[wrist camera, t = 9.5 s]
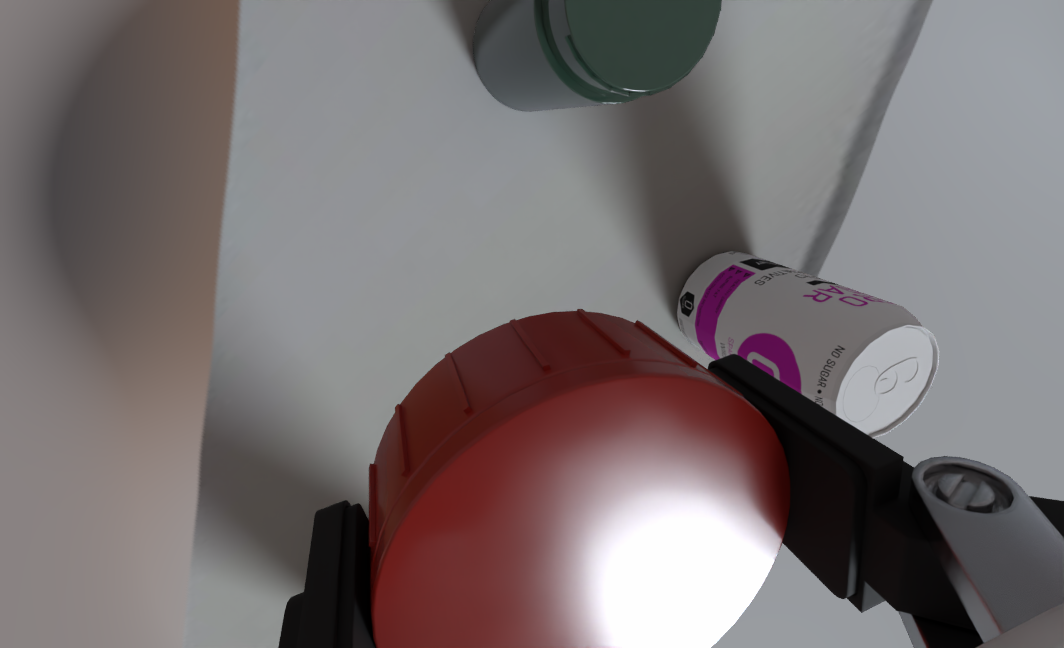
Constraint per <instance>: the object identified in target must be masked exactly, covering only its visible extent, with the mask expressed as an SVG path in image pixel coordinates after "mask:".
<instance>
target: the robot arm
mask: <svg viewBox="0 0 1064 648" xmlns="http://www.w3.org/2000/svg"><path fill="white" fill-rule="evenodd" d="M708 370H709V371H710V372H712V373H713V374H715V375H716V376H717V377H719V378H720V379H722V380H723V381H724V382H726V383H727V384H729V385H730V386H731V387H733V388H734V389H736V390H737V391H739V392H740V393H741V394H742V395H743V396H744V398H745V399H746V400H747V401H749V402H750V403H751V404H752V405H753V406H754V407H755V408H757V409H758V410H759V411H760V412H761V413H762V414H763V416H764V417H765V418H766V419H767V421H768V422H769V423H770V425H771V426H772V427H773V429H774V431H775V433H776V435H777V437H778V438H779V440H780V442H781V444H782V446H783V449H784V452H785V455H786V459H787V462H788V465H789V473H790V512H789V518H788V524H787V528H786V531H785V535H784V538H783V542H782V543H783V544H784V545H786V547H787V548H788V549H789V550H790V551H791V552H792V553H793V554H794V555H795V556H796V557H797V558H798V559H799V560H800V561H801V562H802V563H803V564H804V565H805V566H806V567H807V568H808V569H809V570H810V571H811V572H812V573H813V574H814V575H815V576H817V578H819V580H820V581H821V582H822V583H823V584H824V585H825V586H826V587H827V588H828V589H829V590H830V591H831V592H832V593H833V594H834V595H836V596H837V597H839V598H841V599H845V598H847V599H848V600H849V601H850V602H851V603H852V604H853V605H854V606H855V607H856V608H857V609H858V610H859V611H860V612H861V613H862V612H864V611H866V610H868V609H870V608H872V607H874V606H876V605H878V604H880V603H881V602H884V601H887V602H888V603H889V604H890V605H891V606H892V607H893V608H894V609H895V610H896V611H899V614H900V616H901V619H902V621H903V623H904V626H905V628H906V630H907V633H908V635H909V637H910V640H911V642H912V644H913V647H914V648H1064V501H1059V500H1052V499H1044V498H1038V497H1032V496H1028V495H1027V494H1026V493H1025V491H1024V490H1023V489H1022V488H1021V487H1020V486H1019V485H1018V484H1017V483H1016V482H1015V481H1014V480H1013V479H1012V478H1011V477H1009V476H1008V475H1006V474H1004V473H1003V472H1001V471H999V470H998V469H995V468H994V467H991V466H989V465H986V464H983V463H981V462H978V461H974V460H970V459H965V458H960V457H947V456H943V457H934V458H929V459H927V460H924V461H921V462H920V463H919V464H918V465H917V466H916V467H915V468H914V467H912V466H911V465H909V464H907V463H906V462H904V461H903V456H901V455H899V454H898V453H896V452H894V451H893V450H891V449H890V448H888V447H886V446H885V445H883V444H881V443H880V442H878V441H877V440H875V439H873V438H872V437H870V436H869V435H867V434H865V433H864V432H862V431H860V430H859V429H857V428H856V427H854V426H852V425H851V424H849V423H848V422H846V421H844V420H843V419H841V418H839V417H838V416H836V415H835V414H833V413H831V412H830V411H828V410H826V409H825V408H823V407H822V406H820V405H818V404H817V403H815V402H814V401H812V400H810V399H809V398H807V397H805V396H804V395H802V394H801V393H799V392H797V391H796V390H794V389H792V388H791V387H789V386H788V385H786V384H784V383H783V382H781V381H780V380H778V379H776V378H775V377H773V376H771V375H770V374H768V373H767V372H765V371H763V370H762V369H760V368H758V367H757V366H755V365H754V364H752V363H750V362H749V361H747V360H746V359H744V358H742V357H741V356H739V355H737V354H731V355H728V356H725V357H723V358H720V359H718V360H715V361H712V362H711V363H709V366H708ZM370 589H371V584H370V547H369V520H368V518H367V516H366V514H365V512H364V510H363V508H362V506H361V505H360V504H355V505H353V506H351V505H350V503H349V502H348V501H346V500H345V501H342V502H339V503H337V504H334V505H331V506H329V507H326V508H324V509H321V510H318V511H317V512H316V514H315V518H314V525H313V532H312V539H311V546H310V554H309V561H308V568H307V575H306V582H305V589H304V592H303V593H301V594H298V595H296V596H293V597H291V598H290V599H289V601H288V602H287V605H286V609H285V613H284V619H283V625H282V631H281V636H280V642H279V648H376V646H375V643H374V640H373V636H372V624H371V612H370Z"/></svg>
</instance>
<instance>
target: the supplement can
mask: <svg viewBox="0 0 1064 648" xmlns="http://www.w3.org/2000/svg"><path fill="white" fill-rule="evenodd" d="M677 317H678V322H679V327H680V330H681V332H682V333H683V335H684V336H685V337H686V339H687V340H688V342H690V343H691V344H693V345H694V346H696V347H697V348H699V349H700V350H702V351H703V352H705V353H706V354H708V355H709V356H711V357H712V358H714V359H715V360H718V359H720V358H723V357H725V356H728V355H731V354H737V355H739V356H741V357H742V358H744V359H746V360H747V361H749V362H750V363H752V364H754V365H755V366H757V367H758V368H760V369H762V370H763V371H765V372H767V373H768V374H770V375H771V376H773V377H775V378H776V379H778V380H780V381H781V382H783V383H784V384H786V385H788V386H789V387H791V388H792V389H794V390H796V391H797V392H799V393H801V394H802V395H804V396H805V397H807V398H809V399H810V400H812V401H814V402H815V403H817V404H818V405H820V406H822V407H823V408H825V409H826V410H828V411H830V412H831V413H833V414H835V415H836V416H838V417H839V418H841V419H843V420H844V421H846V422H848V423H849V424H851V425H852V426H854V427H856V428H857V429H859V430H860V431H862V432H864V433H865V434H867V435H869V436H870V437H872V438H876V437H878V436H881V435H884V434H887V433H889V432H890V431H892V430H893V429H894V428H896V427H897V426H899V425H900V424H901V423H903V422H905V421H906V419H908V417H909V416H910V415H911V414H912V413H913V412H914V411H915V410H916V409H917V408H918V407H919V406H920V404H921V403H922V401H923V400H924V398H925V396H926V395H927V393H928V392H929V390H930V388H931V386H932V384H933V381H934V378H935V375H936V373H937V370H938V364H939V347H938V344H937V342H936V339H935V336H934V335H933V334H932V333H931V332H929V331H928V330H927V329H926V328H925V327H923V326H922V325H921V324H920V322H919V321H918V320H917V319H916V317H915V316H913V315H912V314H911V313H910V312H909V311H907V310H906V309H905V308H904V307H902V306H899V305H897V304H893V303H891V302H888V301H885V300H882V299H879V298H876V297H873V296H870V295H867V294H864V293H861V292H858V291H855V290H852V289H849V288H846V287H844V286H841V285H838V284H835V283H832V282H829V281H826V280H823V279H820V278H817V277H814V276H811V275H808V274H805V273H802V272H799V271H797V270H794V269H791V268H788V267H785V266H782V265H779V264H776V263H773V262H770V261H767V260H764V259H761V258H758V257H755V256H752V255H749V254H746V253H740V252H734V251H730V252H726V253H722V254H718V255H715V256H713V257H712V258H710V259H708V260H707V261H705V262H704V263H702V264H701V265H700V266H699V267H698V268H697V269H696V270H695V271H694V273H693V274H692V275H691V276H690V277H689V278H688V280H687V282H686V284H685V286H684V288H683V290H682V292H681V295H680V297H679V303H678V311H677Z"/></svg>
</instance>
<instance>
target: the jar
mask: <svg viewBox="0 0 1064 648" xmlns="http://www.w3.org/2000/svg"><path fill="white" fill-rule="evenodd" d="M721 2H722V0H491V1H490V2H489V3H488V4H487V5H486V6H485V8H484V9H483V11H482V12H481V14H480V17H479V19H478V21H477V24H476V27H475V32H474V37H473V55H474V62H475V65H476V69H477V72H478V74H479V77H480V79H481V81H482V83H483V84H484V86H485V87H486V89H487V90H488V91H489V93H490V94H491V95H492V96H493V97H494V98H495V99H497V100H498V101H499V102H500V103H502V104H503V105H505V106H507V107H509V108H512V109H515V110H518V111H526V112H532V111H543V110H554V109H565V108H576V107H587V106H598V105H610V104H619V103H625V102H629V101H632V100H635V99H637V98H639V97H641V96H649V95H653V94H655V93H658V92H661V91H663V90H666V89H668V88H671V87H672V86H673V85H675V84H676V83H677V82H679V81H680V80H681V79H683V78H684V77H685V76H687V75H688V74H689V73H690V71H691V70H692V69H693V68H694V66H695V65H696V64H697V63H698V62H699V60H700V59H701V58H702V57H703V55H704V53H705V51H706V49H707V47H708V45H709V43H710V41H711V39H712V37H713V36H714V33H715V29H716V25H717V22H718V18H719V14H720V11H721Z"/></svg>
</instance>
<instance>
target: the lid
mask: <svg viewBox="0 0 1064 648" xmlns="http://www.w3.org/2000/svg"><path fill="white" fill-rule="evenodd" d="M789 512H790V473H789V465H788V462H787V459H786V455H785V452H784V449H783V446H782V444H781V442H780V440H779V438H778V437H777V435H776V433H775V431H774V429H773V427H772V426H771V425H770V423H769V422H768V421H767V419H766V418H765V417H764V416H763V414H762V413H761V412H760V411H759V410H758V409H757V408H755V407H754V406H753V405H752V404H751V403H750V402H749V401H747V400H746V399H745V398H744V396H743V395H742V394H741V393H740V392H739V391H737V390H736V389H734V388H733V387H731V386H730V385H729V384H727V383H726V382H724V381H723V380H722V379H720V378H719V377H717V376H716V375H715V374H713V373H712V372H710V371H709V370H708V369H706V368H705V367H703V366H702V365H701V364H699V363H698V362H696V361H695V360H694V359H692V358H691V357H689V356H688V355H687V354H685V353H684V352H682V351H681V350H680V349H678V348H677V347H675V346H674V345H673V344H671V343H670V342H668V341H667V340H665V339H664V338H663V337H661V336H660V335H658V334H657V333H656V332H654V331H653V330H651V329H650V328H649V327H647V326H646V325H644V324H643V323H642V322H640V321H638V320H637V321H636V323H633V322H631V321H628V320H626V319H623V318H620V317H616V316H611V315H607V314H603V313H595V312H585V311H584V310H583V309H577V311H567V312H551V313H546V314H540V315H535V316H529V317H525V318H522V319H519V320H515V319H513V320H510V322H509V323H506V324H503V325H501V326H499V327H496V328H494V329H492V330H490V331H487V332H485V333H483V334H481V335H479V336H477V337H475V338H474V339H472V340H470V341H469V342H467V343H465V344H464V345H462V346H460V347H459V348H457V349H456V350H454V351H453V352H452V353H450V352H449V353H448V354H446V355H445V358H444V359H443V360H441V361H440V362H439V363H437V364H436V365H435V366H434V367H433V368H432V369H431V370H430V371H429V372H428V373H427V374H426V375H425V376H424V377H423V378H422V379H421V380H420V381H419V382H418V383H417V384H416V385H415V386H414V387H413V389H412V390H411V391H410V392H409V394H408V395H407V396H406V397H405V399H404V400H403V401H402V403H401V404H397V406H396V407H395V414H394V415H393V417H392V419H391V420H390V422H389V424H388V425H387V427H386V430H385V432H384V435H383V437H382V439H381V442H380V444H379V447H378V449H377V453H376V457H375V461H374V464H370V466H369V547H370V584H371V589H370V612H371V624H372V636H373V640H374V643H375V646H376V648H711V647H712V646H713V645H714V644H715V643H716V642H717V641H718V640H719V639H720V638H721V637H722V636H723V635H724V634H725V633H726V632H727V631H728V630H729V628H731V627H732V625H733V624H734V623H735V622H736V621H737V620H738V618H739V617H740V616H741V615H742V613H743V612H744V611H745V610H746V608H747V607H748V606H749V604H750V603H751V601H752V600H753V598H754V597H755V596H756V594H757V593H758V591H759V589H760V588H761V587H762V585H763V583H764V581H765V579H766V578H767V576H768V574H769V572H770V570H771V568H772V566H773V564H774V562H775V560H776V557H777V555H778V552H779V550H780V547H781V545H782V542H783V538H784V535H785V531H786V528H787V524H788V518H789Z"/></svg>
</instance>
